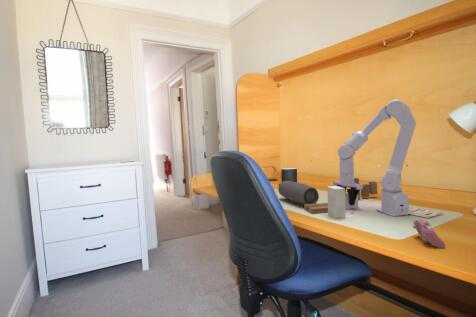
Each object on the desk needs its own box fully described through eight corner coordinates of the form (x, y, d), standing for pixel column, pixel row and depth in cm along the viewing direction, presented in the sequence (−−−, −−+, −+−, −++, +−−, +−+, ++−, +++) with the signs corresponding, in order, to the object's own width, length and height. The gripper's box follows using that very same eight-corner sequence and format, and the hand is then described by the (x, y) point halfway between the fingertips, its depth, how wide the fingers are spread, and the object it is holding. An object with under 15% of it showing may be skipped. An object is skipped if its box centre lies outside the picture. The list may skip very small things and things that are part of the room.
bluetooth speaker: (320, 207, 120) (319, 185, 120) (302, 209, 117) (302, 187, 117) (293, 197, 142) (292, 178, 141) (277, 199, 139) (277, 180, 138)
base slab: (344, 212, 111) (344, 206, 110) (312, 215, 109) (311, 209, 108) (334, 207, 119) (334, 202, 118) (304, 210, 116) (304, 204, 116)
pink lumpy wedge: (415, 239, 81) (408, 217, 81) (432, 236, 80) (425, 213, 80) (428, 253, 72) (420, 228, 72) (447, 249, 71) (439, 224, 71)
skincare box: (345, 219, 101) (345, 188, 100) (335, 220, 101) (334, 189, 100) (337, 215, 107) (336, 185, 106) (327, 216, 107) (326, 186, 106)
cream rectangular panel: (364, 215, 105) (364, 214, 105) (345, 217, 104) (345, 215, 104) (355, 211, 111) (355, 210, 111) (337, 212, 110) (337, 211, 110)
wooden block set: (374, 196, 137) (373, 176, 137) (381, 198, 129) (379, 177, 129) (337, 197, 139) (336, 177, 139) (342, 200, 131) (341, 179, 131)
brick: (358, 208, 116) (358, 194, 116) (341, 209, 115) (341, 196, 114) (352, 206, 120) (352, 192, 119) (336, 207, 119) (336, 194, 118)
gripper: (367, 173, 111) (367, 205, 112) (341, 170, 124) (341, 199, 125) (354, 175, 108) (355, 208, 109) (329, 171, 122) (329, 201, 123)
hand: (347, 203), depth 117 cm, fingers closed on brick, 5 cm apart
